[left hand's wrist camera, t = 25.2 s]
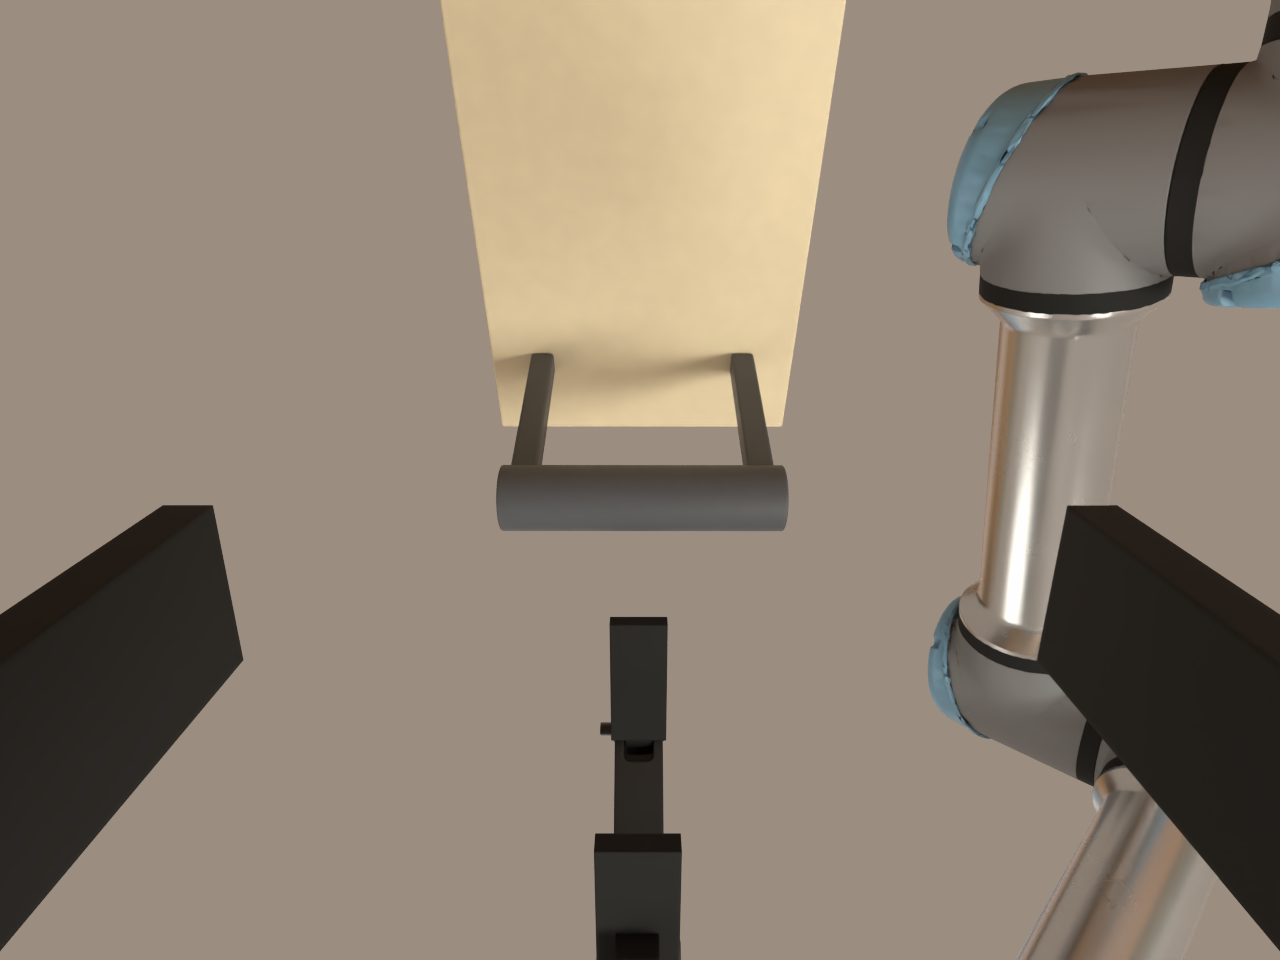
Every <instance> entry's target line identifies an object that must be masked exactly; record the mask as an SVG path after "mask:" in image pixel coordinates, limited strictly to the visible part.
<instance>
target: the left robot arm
mask: <svg viewBox="0 0 1280 960" xmlns="http://www.w3.org/2000/svg"><path fill="white" fill-rule="evenodd" d="M242 661H243V656H242V651H241V646H240V641H239V636H238V631H237V626H236V621H235V615H234V611H233V606H232V600H231V595H230V590H229V585H228V580H227V575H226V570H225V565H224V560H223V555H222V550H221V544H220V540H219V534H218V529H217V524H216V519H215V514H214V509H213V506H212V505H163V506H161V507H160V508H158V509H157V510H155V511H154V512H152V513H151V514H149V515H148V516H146V517H145V518H143V519H142V520H140V521H139V522H138V523H136V524H135V525H133V526H132V527H130V528H129V529H127V530H126V531H124V532H123V533H121V534H120V535H118V536H117V537H115V538H114V539H112V540H111V541H109V542H108V543H106V544H105V545H103V546H102V547H100V548H99V549H97V550H96V551H94V552H93V553H91V554H90V555H88V556H87V557H85V558H84V559H82V560H81V561H80V562H78V563H76V564H75V565H73V566H72V567H70V568H69V569H68V570H66V571H64V572H63V573H61V574H60V575H59V576H57V577H56V578H54V579H53V580H51V581H50V582H48V583H47V584H45V585H44V586H42V587H41V588H39V589H38V590H36V591H35V592H33V593H32V594H30V595H29V596H27V597H26V598H24V599H23V600H21V601H20V602H18V603H17V604H15V605H14V606H12V607H11V608H9V609H8V610H6V611H5V612H3V613H2V614H0V951H1V949H2V948H3V947H4V946H5V945H6V943H7V942H8V941H9V940H10V939H11V937H12V936H13V935H14V934H15V933H16V931H17V930H18V929H19V928H20V927H21V925H22V924H23V923H24V922H25V921H26V920H27V918H28V917H29V916H30V915H31V914H32V912H33V911H34V910H35V909H36V908H37V906H38V905H39V904H40V903H41V902H42V900H43V899H44V898H45V897H46V896H47V894H48V893H49V892H50V891H51V890H52V888H53V887H54V886H55V885H56V884H57V882H58V881H59V880H60V879H61V878H62V876H63V875H64V874H65V873H66V872H67V870H68V869H69V868H70V867H71V866H72V864H73V863H74V862H75V861H76V860H77V858H78V857H79V856H80V855H81V854H82V853H83V851H84V850H85V849H86V848H87V847H88V845H89V844H90V843H91V842H92V841H93V839H94V838H95V837H96V836H97V835H98V833H99V832H100V831H101V830H102V829H103V827H104V826H105V825H106V824H107V823H108V821H109V820H110V819H111V818H112V817H113V815H114V814H115V813H116V812H117V811H118V809H119V808H120V807H121V806H122V805H123V803H124V802H125V801H126V800H127V799H128V797H129V796H130V795H131V794H132V793H133V791H134V790H135V789H136V788H137V787H138V785H139V784H140V783H141V782H142V781H143V779H144V778H145V777H146V776H147V775H148V773H149V772H150V771H151V770H152V769H153V768H154V766H155V765H156V764H157V763H158V762H159V760H160V759H161V758H162V757H163V755H164V754H165V753H166V752H167V751H168V750H169V748H170V747H171V746H172V745H173V744H174V742H175V741H176V740H177V739H178V738H179V736H180V735H181V734H182V733H183V732H184V730H185V729H186V728H187V727H188V726H189V724H190V723H191V722H192V721H193V720H194V718H195V717H196V716H197V715H198V714H199V713H200V711H201V710H202V709H203V708H204V707H205V705H206V704H207V703H208V702H209V701H210V699H211V698H212V697H213V696H214V695H215V693H216V692H217V691H218V690H219V689H220V687H221V686H222V685H223V684H224V683H225V681H226V680H227V679H228V678H229V677H230V675H231V674H232V673H233V672H234V671H235V669H236V668H237V667H238V666H239V665H240V663H241V662H242ZM1037 661H1038V662H1039V663H1040V665H1041V666H1042V667H1043V668H1044V669H1045V671H1046V672H1047V673H1048V674H1049V675H1050V677H1051V678H1052V679H1053V680H1054V681H1055V683H1056V684H1057V685H1058V686H1059V687H1060V689H1061V690H1062V691H1063V692H1064V693H1065V695H1066V696H1067V697H1068V698H1069V699H1070V701H1071V702H1072V703H1073V704H1074V705H1075V707H1076V708H1077V709H1078V710H1079V711H1080V713H1081V714H1082V715H1083V716H1084V717H1085V718H1086V720H1087V721H1088V722H1089V723H1090V724H1091V726H1092V727H1093V728H1094V729H1095V730H1096V732H1097V733H1098V734H1099V735H1100V736H1101V738H1102V739H1103V740H1104V741H1105V742H1106V744H1107V745H1108V746H1109V747H1110V748H1111V750H1112V751H1113V752H1114V753H1115V754H1116V756H1117V757H1118V758H1119V759H1120V760H1121V762H1122V763H1123V764H1124V765H1125V766H1126V768H1127V769H1128V770H1129V771H1130V772H1131V774H1132V775H1133V776H1134V777H1135V778H1136V780H1137V781H1138V782H1139V783H1140V784H1141V786H1142V787H1143V788H1144V789H1145V790H1146V791H1147V793H1148V794H1149V795H1150V796H1151V797H1152V799H1153V800H1154V801H1155V802H1156V803H1157V805H1158V806H1159V807H1160V808H1161V809H1162V811H1163V812H1164V813H1165V814H1166V815H1167V817H1168V818H1169V819H1170V820H1171V821H1172V823H1173V824H1174V825H1175V826H1176V827H1177V829H1178V830H1179V831H1180V832H1181V833H1182V835H1183V836H1184V837H1185V838H1186V839H1187V841H1188V842H1189V843H1190V844H1191V845H1192V847H1193V848H1194V849H1195V850H1196V851H1197V853H1198V854H1199V855H1200V856H1201V857H1202V858H1203V860H1204V861H1205V862H1206V863H1207V864H1208V866H1209V867H1210V868H1211V869H1212V870H1213V872H1214V873H1215V874H1216V875H1217V876H1218V878H1219V879H1220V880H1221V881H1222V882H1223V884H1224V885H1225V886H1226V887H1227V888H1228V890H1229V891H1230V892H1231V893H1232V894H1233V896H1234V897H1235V898H1236V899H1237V900H1238V902H1239V903H1240V904H1241V905H1242V906H1243V907H1244V909H1245V910H1246V911H1247V912H1248V913H1249V915H1250V916H1251V917H1252V918H1253V919H1254V921H1255V922H1256V923H1257V924H1258V925H1259V927H1260V928H1261V929H1262V930H1263V931H1264V933H1265V934H1266V935H1267V936H1268V937H1269V939H1270V940H1271V941H1272V942H1273V943H1274V945H1275V946H1276V947H1277V948H1278V949H1279V951H1280V614H1278V613H1277V612H1275V611H1274V610H1272V609H1271V608H1269V607H1268V606H1266V605H1265V604H1263V603H1262V602H1260V601H1259V600H1257V599H1256V598H1254V597H1253V596H1251V595H1250V594H1248V593H1247V592H1245V591H1244V590H1242V589H1241V588H1239V587H1238V586H1236V585H1235V584H1233V583H1232V582H1230V581H1229V580H1227V579H1226V578H1224V577H1223V576H1221V575H1220V574H1219V573H1217V572H1216V571H1214V570H1213V569H1211V568H1210V567H1208V566H1207V565H1205V564H1203V563H1202V562H1201V561H1199V560H1198V559H1196V558H1195V557H1193V556H1192V555H1190V554H1189V553H1187V552H1186V551H1184V550H1183V549H1181V548H1180V547H1178V546H1177V545H1175V544H1174V543H1172V542H1171V541H1169V540H1168V539H1166V538H1165V537H1163V536H1162V535H1160V534H1159V533H1157V532H1156V531H1154V530H1153V529H1151V528H1150V527H1148V526H1147V525H1145V524H1144V523H1142V522H1141V521H1139V520H1138V519H1137V518H1135V517H1134V516H1132V515H1131V514H1129V513H1128V512H1126V511H1125V510H1123V509H1122V508H1120V507H1119V506H1117V505H1067V509H1066V514H1065V519H1064V524H1063V529H1062V534H1061V539H1060V544H1059V550H1058V555H1057V560H1056V565H1055V570H1054V575H1053V580H1052V585H1051V590H1050V595H1049V600H1048V605H1047V610H1046V615H1045V621H1044V626H1043V631H1042V636H1041V641H1040V646H1039V651H1038V656H1037Z"/></svg>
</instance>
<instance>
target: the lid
mask: <svg viewBox="0 0 1280 960" xmlns="http://www.w3.org/2000/svg"><path fill="white" fill-rule="evenodd" d="M440 4H441V11H442V18H443V25H444V32H445V38H446V45H447V52H448V59H449V65H450V72H451V79H452V86H453V93H454V100H455V106H456V113H457V120H458V127H459V133H460V140H461V147H462V154H463V161H464V167H465V174H466V181H467V188H468V195H469V201H470V208H471V215H472V222H473V228H474V235H475V242H476V249H477V256H478V262H479V269H480V276H481V283H482V290H483V296H484V303H485V310H486V317H487V324H488V330H489V337H490V344H491V351H492V357H493V364H494V371H495V378H496V385H497V391H498V398H499V405H500V412H501V419H502V425H503V426H518V431H517V437H516V442H515V448H514V453H513V459H512V464H511V465H503V466H501V468H500V470H499V474H498V480H497V492H496V504H497V517H498V523H499V526H500V529H501V530H503V531H782V530H784V528H785V526H786V522H787V516H788V481H787V475H786V471H785V468H784V467H783V466H781V465H773V460H772V454H771V449H770V443H769V438H768V432H767V427H766V426H782V423H783V417H784V410H785V403H786V397H787V390H788V384H789V377H790V370H791V363H792V357H793V350H794V344H795V337H796V330H797V324H798V317H799V311H800V304H801V297H802V291H803V284H804V277H805V271H806V264H807V257H808V251H809V244H810V238H811V231H812V224H813V218H814V211H815V204H816V197H817V191H818V184H819V178H820V171H821V165H822V158H823V151H824V145H825V138H826V131H827V125H828V118H829V111H830V105H831V98H832V91H833V85H834V78H835V72H836V65H837V58H838V52H839V45H840V38H841V32H842V25H843V19H844V12H845V5H846V0H440ZM547 426H738V433H739V440H740V447H741V454H742V461H743V465H542V459H543V452H544V445H545V438H546V431H547Z"/></svg>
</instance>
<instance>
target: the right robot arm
mask: <svg viewBox="0 0 1280 960" xmlns="http://www.w3.org/2000/svg"><path fill="white" fill-rule="evenodd" d="M947 228H948V237H949V241H950V242H951V243H952V251H953V253H954V255H955V256H956V257H957V258H958V259H960V260H961V261H964V262H966V263H967V264H968V265H973V266H975V265H980V284H979V299H980V300H981V301H982V303H983V304H984V305H985V306H987V307H988V308H989V309H990V310H991V311H992V312H993V313H994V314H995V315H996V316H997V317H998V318H999V320H1000V326H999V339H998V352H997V365H996V378H995V392H994V404H993V418H992V430H991V443H990V457H989V469H988V482H987V496H986V508H985V522H984V535H983V547H982V561H981V573H980V580H979V581H977V582H975V583H974V584H972V585H971V586H969V587H968V588H967V589H966V590H965V592H964V593H963V594H962V596H960V597H958V598H956V599H955V600H953V601H952V602H951V603H950V604H949V606H948V607H947V608H946V610H945V611H944V613H943V614H942V616H941V618H940V620H939V622H938V624H937V627H936V629H935V633H934V638H935V641H934V645H933V646H932V647H931V648H930V652H929V659H928V681H929V687H930V692H931V695H932V697H933V700H934V702H935V704H936V705H937V707H938V708H939V710H940V711H941V712H942V713H943V714H944V715H946V716H947V717H948V718H950V719H952V720H954V721H956V722H958V723H959V724H961V725H963V726H965V727H967V728H968V729H969V730H970V731H971V732H973V733H974V734H976V735H978V736H980V737H983V738H988V739H993V740H995V741H998V742H1000V743H1002V744H1004V745H1006V746H1008V747H1010V748H1012V749H1015V750H1017V751H1019V752H1021V753H1023V754H1025V755H1027V756H1029V757H1032V758H1034V759H1036V760H1038V761H1040V762H1042V763H1044V764H1046V765H1048V766H1051V767H1053V768H1055V769H1057V770H1059V771H1061V772H1063V773H1065V774H1068V775H1070V776H1072V777H1074V778H1076V779H1078V780H1081V781H1083V782H1085V783H1087V784H1089V785H1091V786H1093V791H1092V798H1093V803H1094V806H1095V809H1096V812H1097V814H1096V816H1095V818H1094V819H1093V821H1092V823H1091V825H1090V827H1089V828H1088V830H1087V832H1086V834H1085V836H1084V837H1083V839H1082V841H1081V843H1080V845H1079V846H1078V848H1077V850H1076V852H1075V854H1074V856H1073V858H1072V859H1071V861H1070V863H1069V865H1068V866H1067V868H1066V870H1065V872H1064V874H1063V875H1062V877H1061V879H1060V881H1059V883H1058V885H1057V886H1056V888H1055V890H1054V892H1053V894H1052V895H1051V897H1050V899H1049V901H1048V903H1047V904H1046V906H1045V908H1044V910H1043V912H1042V914H1041V915H1040V917H1039V919H1038V921H1037V923H1036V924H1035V926H1034V928H1033V930H1032V932H1031V933H1030V935H1029V937H1028V939H1027V941H1026V943H1025V944H1024V946H1023V948H1022V950H1021V952H1020V953H1019V955H1018V957H1017V959H1016V960H1183V959H1184V956H1185V954H1186V952H1187V949H1188V947H1189V944H1190V942H1191V939H1192V937H1193V934H1194V932H1195V929H1196V927H1197V924H1198V922H1199V919H1200V917H1201V914H1202V912H1203V910H1204V907H1205V905H1206V902H1207V900H1208V897H1209V895H1210V892H1211V890H1212V887H1213V885H1214V882H1215V880H1216V879H1219V878H1218V876H1217V875H1216V874H1215V873H1214V872H1213V870H1212V869H1211V868H1210V867H1209V866H1208V864H1207V863H1206V862H1205V861H1204V860H1203V858H1202V857H1201V856H1200V855H1199V854H1198V853H1197V851H1196V850H1195V849H1194V848H1193V847H1192V845H1191V844H1190V843H1189V842H1188V841H1187V839H1186V838H1185V837H1184V836H1183V835H1182V833H1181V832H1180V831H1179V830H1178V829H1177V827H1176V826H1175V825H1174V824H1173V823H1172V821H1171V820H1170V819H1169V818H1168V817H1167V815H1166V814H1165V813H1164V812H1163V811H1162V809H1161V808H1160V807H1159V806H1158V805H1157V803H1156V802H1155V801H1154V800H1153V799H1152V797H1151V796H1150V795H1149V794H1148V793H1147V791H1146V790H1145V789H1144V788H1143V787H1142V786H1141V784H1140V783H1139V782H1138V781H1137V780H1136V778H1135V777H1134V776H1133V775H1132V774H1131V772H1130V771H1129V770H1128V769H1127V768H1126V766H1125V765H1124V764H1123V763H1122V762H1121V760H1120V759H1119V758H1118V757H1117V756H1116V754H1115V753H1114V752H1113V751H1112V750H1111V748H1110V747H1109V746H1108V745H1107V744H1106V742H1105V741H1104V740H1103V739H1102V738H1101V736H1100V735H1099V734H1098V733H1097V732H1096V730H1095V729H1094V728H1093V727H1092V726H1091V724H1090V723H1089V722H1088V721H1087V720H1086V718H1085V717H1084V716H1083V715H1082V714H1081V713H1080V711H1079V710H1078V709H1077V708H1076V707H1075V705H1074V704H1073V703H1072V702H1071V701H1070V699H1069V698H1068V697H1067V696H1066V695H1065V693H1064V692H1063V691H1062V690H1061V689H1060V687H1059V686H1058V685H1057V684H1056V683H1055V681H1054V680H1053V679H1052V678H1051V677H1050V675H1049V674H1048V673H1047V672H1046V671H1045V669H1044V668H1043V667H1042V666H1041V665H1040V663H1039V662H1038V661H1037V656H1038V651H1039V646H1040V641H1041V636H1042V631H1043V626H1044V621H1045V615H1046V610H1047V605H1048V600H1049V595H1050V590H1051V585H1052V580H1053V575H1054V570H1055V565H1056V560H1057V555H1058V550H1059V544H1060V539H1061V534H1062V529H1063V524H1064V519H1065V514H1066V509H1067V505H1110V500H1111V493H1112V487H1113V481H1114V475H1115V468H1116V462H1117V456H1118V449H1119V443H1120V437H1121V431H1122V425H1123V419H1124V412H1125V406H1126V400H1127V394H1128V387H1129V381H1130V375H1131V369H1132V362H1133V356H1134V350H1135V343H1136V337H1137V331H1138V325H1139V322H1140V320H1141V319H1142V318H1144V317H1145V316H1147V315H1148V314H1149V313H1151V312H1152V311H1154V310H1155V309H1157V308H1158V307H1159V306H1161V305H1162V304H1164V303H1165V302H1166V301H1167V300H1168V299H1169V296H1170V293H1171V290H1172V284H1173V278H1174V276H1185V277H1198V278H1204V279H1205V280H1204V281H1203V282H1201V285H1200V290H1201V292H1202V295H1203V300H1204V301H1205V302H1206V303H1207V304H1209V305H1213V306H1219V307H1242V308H1280V0H1271V6H1270V11H1269V15H1268V20H1267V24H1266V28H1265V33H1264V37H1263V41H1262V46H1261V48H1260V51H1259V54H1258V57H1257V60H1255V61H1252V62H1243V63H1232V64H1219V65H1206V66H1195V67H1183V68H1170V69H1158V70H1146V71H1134V72H1122V73H1110V74H1097V75H1088V74H1087V73H1075V74H1072V75H1068V76H1067V77H1065V78H1059V79H1052V80H1044V81H1037V82H1029V83H1024V84H1021V85H1018V86H1015V87H1013V88H1011V89H1009V90H1008V91H1006V92H1004V93H1003V94H1002V95H1000V96H999V97H998V98H997V99H996V100H995V101H994V102H993V103H992V104H991V105H990V106H989V107H988V108H987V110H986V111H985V112H984V114H983V115H982V116H981V118H980V119H979V121H978V123H977V124H976V126H975V128H974V130H973V133H972V134H971V136H970V137H969V139H968V141H967V143H966V145H965V148H964V150H963V152H962V155H961V158H960V160H959V163H958V166H957V169H956V173H955V176H954V180H953V184H952V189H951V194H950V200H949V207H948V218H947ZM667 627H668V625H667V617H610V679H611V722H610V723H607V722H605V723H601V727H600V734H601V735H611V740H614V742H615V788H614V790H615V791H614V834H595V846H594V869H595V910H596V949H597V960H681V947H680V904H681V861H682V849H681V834H663V741H664V740H666V699H667Z"/></svg>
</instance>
